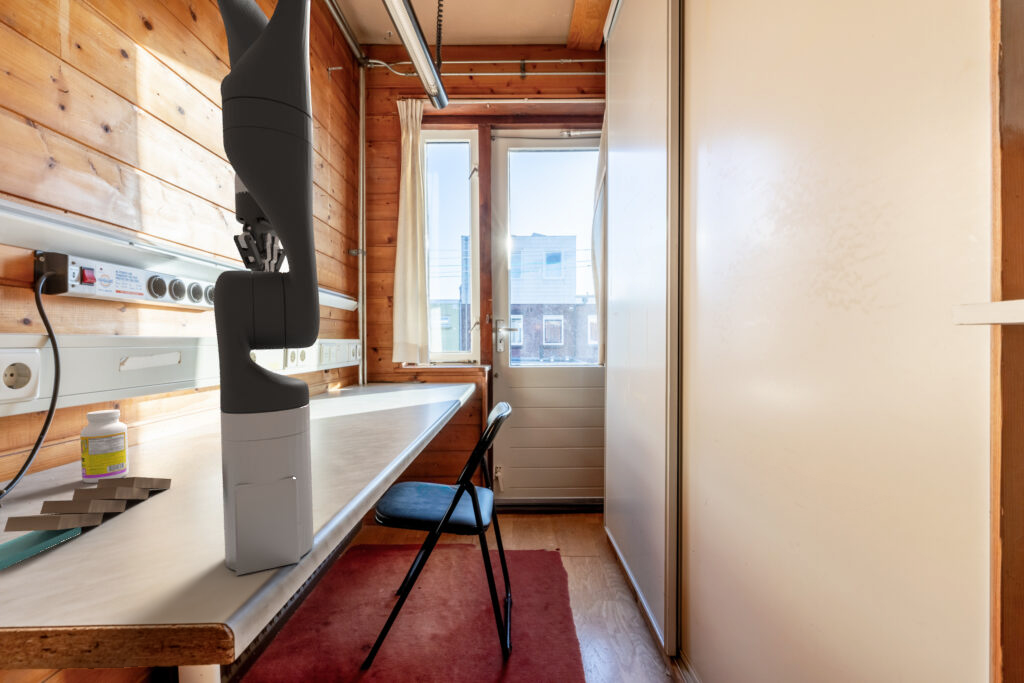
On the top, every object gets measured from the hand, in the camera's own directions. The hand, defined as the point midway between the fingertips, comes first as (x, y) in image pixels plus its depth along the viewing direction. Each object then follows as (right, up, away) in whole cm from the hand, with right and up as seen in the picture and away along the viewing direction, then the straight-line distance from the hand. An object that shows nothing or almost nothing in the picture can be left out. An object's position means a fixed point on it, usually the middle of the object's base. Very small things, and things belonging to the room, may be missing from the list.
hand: (263, 296), depth 77 cm
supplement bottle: (-35, -34, +8) cm, 49 cm away
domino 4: (-19, -33, -5) cm, 38 cm away
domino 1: (-17, -33, -15) cm, 40 cm away
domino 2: (-17, -33, -17) cm, 41 cm away
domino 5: (-19, -33, +1) cm, 38 cm away
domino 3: (-18, -33, -10) cm, 39 cm away
